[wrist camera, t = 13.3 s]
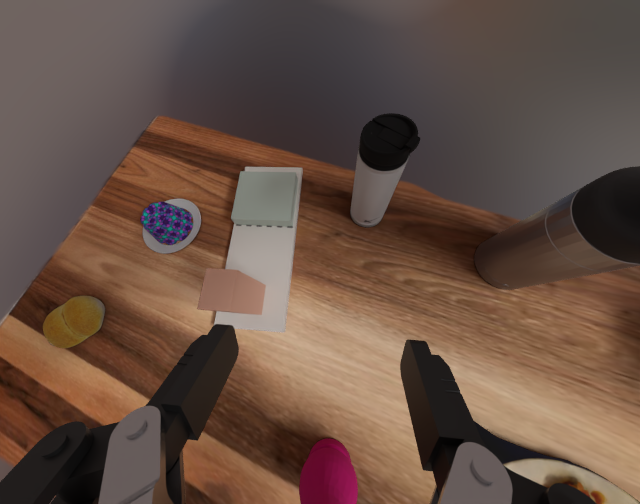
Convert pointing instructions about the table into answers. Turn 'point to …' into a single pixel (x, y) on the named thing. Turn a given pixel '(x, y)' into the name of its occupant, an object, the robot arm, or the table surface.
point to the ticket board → (264, 241)
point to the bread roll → (74, 321)
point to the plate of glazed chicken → (554, 471)
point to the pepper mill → (328, 475)
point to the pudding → (170, 225)
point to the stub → (231, 292)
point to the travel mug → (380, 165)
